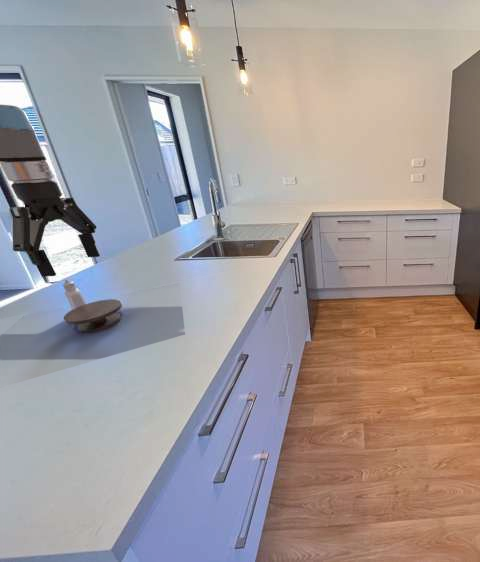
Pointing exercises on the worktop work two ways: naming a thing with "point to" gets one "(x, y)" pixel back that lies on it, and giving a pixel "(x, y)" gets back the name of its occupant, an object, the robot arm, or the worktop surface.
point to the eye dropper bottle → (73, 295)
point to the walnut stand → (95, 315)
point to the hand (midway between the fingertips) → (73, 265)
